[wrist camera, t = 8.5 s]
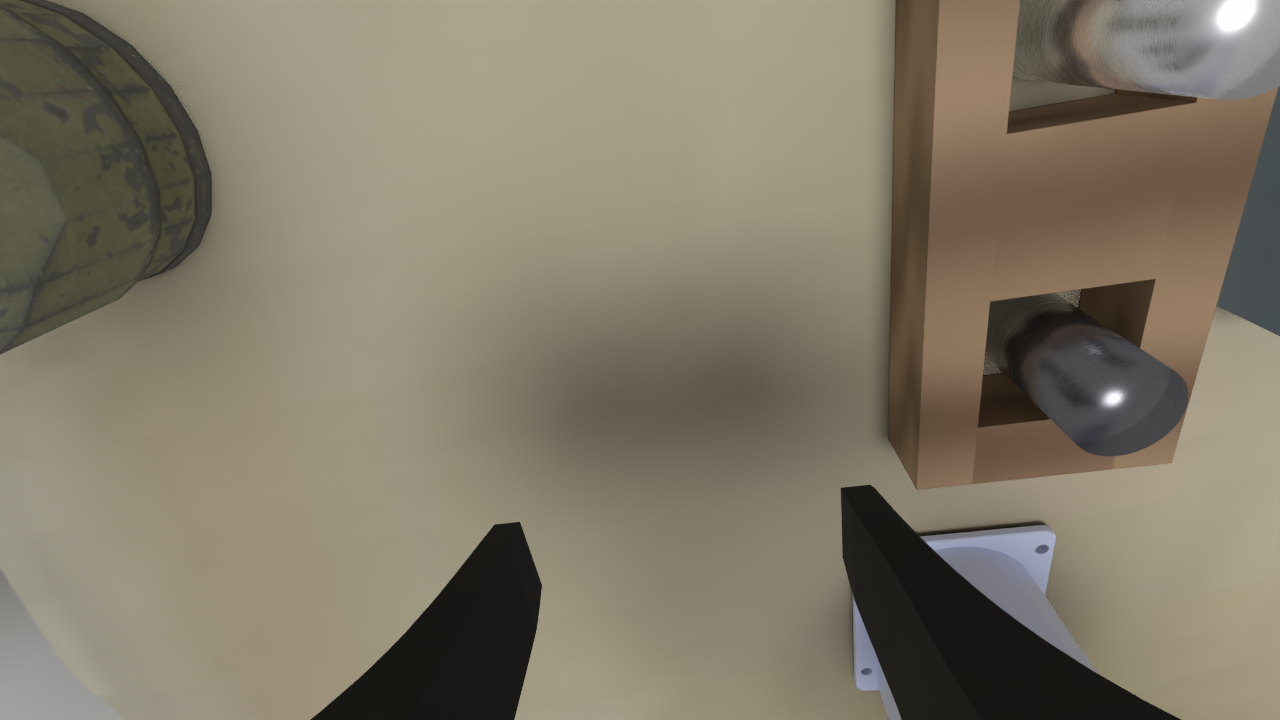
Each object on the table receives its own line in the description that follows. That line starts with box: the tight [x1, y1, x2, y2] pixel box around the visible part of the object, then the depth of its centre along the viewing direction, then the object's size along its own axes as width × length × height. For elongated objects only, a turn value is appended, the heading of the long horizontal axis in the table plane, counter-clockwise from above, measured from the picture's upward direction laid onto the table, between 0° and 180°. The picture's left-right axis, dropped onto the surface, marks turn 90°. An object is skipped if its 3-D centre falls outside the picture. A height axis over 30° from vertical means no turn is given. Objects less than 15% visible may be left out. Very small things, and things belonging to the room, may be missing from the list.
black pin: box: [985, 293, 1189, 456], centre depth 18 cm, size 3×3×6 cm
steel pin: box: [1012, 0, 1280, 100], centre depth 14 cm, size 3×3×7 cm
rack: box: [888, 0, 1278, 490], centre depth 17 cm, size 18×8×3 cm, turn 10°
